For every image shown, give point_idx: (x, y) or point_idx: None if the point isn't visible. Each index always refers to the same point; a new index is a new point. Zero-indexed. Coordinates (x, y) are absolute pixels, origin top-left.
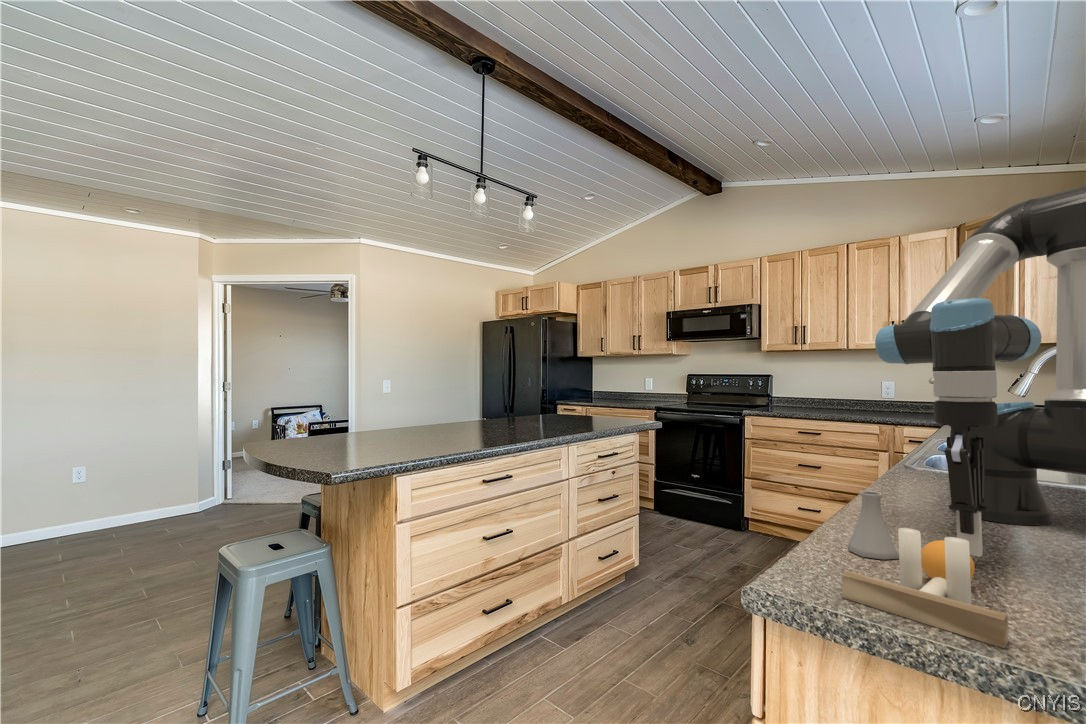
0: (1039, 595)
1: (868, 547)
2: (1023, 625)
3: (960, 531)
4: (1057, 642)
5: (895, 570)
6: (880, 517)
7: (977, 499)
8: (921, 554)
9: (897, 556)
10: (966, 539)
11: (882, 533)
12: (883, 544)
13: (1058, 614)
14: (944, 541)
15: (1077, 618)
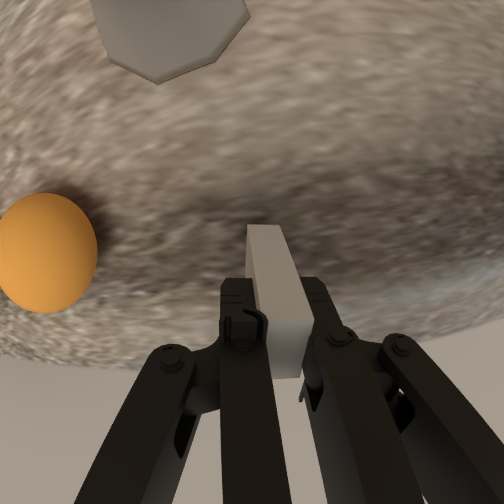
0: (164, 341)
1: (96, 22)
2: (26, 327)
3: (225, 280)
4: (22, 349)
5: (62, 117)
6: (109, 5)
7: (310, 415)
8: (3, 215)
9: (153, 80)
10: (249, 272)
11: (114, 34)
12: (115, 48)
13: (102, 356)
14: (11, 284)
15: (110, 369)
